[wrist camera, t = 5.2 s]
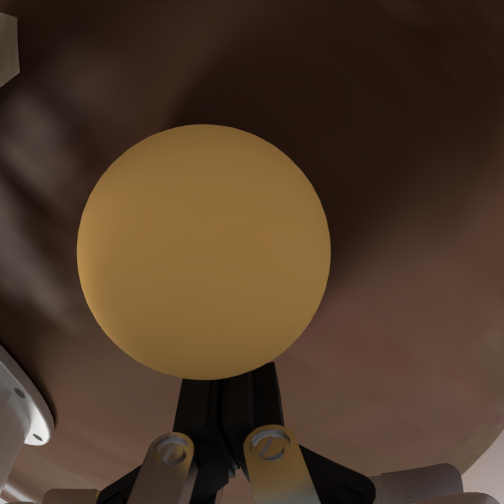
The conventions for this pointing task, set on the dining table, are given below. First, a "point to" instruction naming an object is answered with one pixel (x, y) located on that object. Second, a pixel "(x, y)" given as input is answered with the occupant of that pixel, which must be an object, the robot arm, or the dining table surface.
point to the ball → (203, 252)
